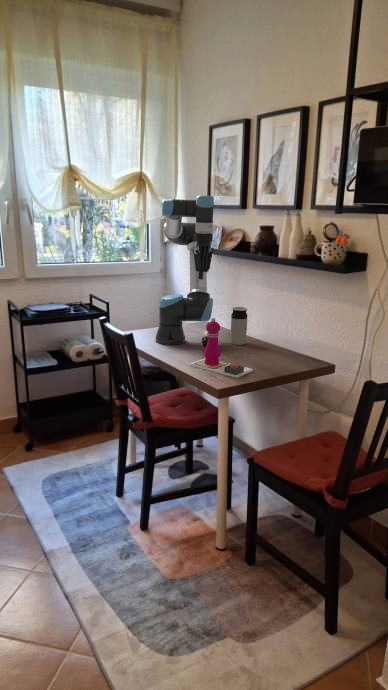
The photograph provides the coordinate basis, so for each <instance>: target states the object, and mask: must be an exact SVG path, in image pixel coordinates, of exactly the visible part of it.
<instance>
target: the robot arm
mask: <svg viewBox="0 0 388 690" xmlns="http://www.w3.org/2000/svg"><path fill="white" fill-rule="evenodd" d="M161 206H162V207H161V215H162V217H165V224H164V225H163V233H164V236H165V238H166V239H167V240H168V241H170V242H171V243H172V244H174V245H175V244H176V245H178V246H186V249H187V251H189V292H188V293H187V294H186V297H184V296H183V294H176V293H174V294H169V295H164V296H161V298H160V299H159V305H158V308H159V309H158V310H159V312H158V313H159V314H158V315H159V316H158V321H159V323H158V325H159V326H158V329H157V332H156V335H155V342H156V343H158V344H162V345H171V346H172V345H173V346H175V345H176V346H177V345H181V344H184V343H185V342H186V335H185V331H184V328H183V322H200V323H202V322H210V321H211V319H212V312H213V305H214V299H213V298H212V297H211V295H210V293H209V292H208V283H207V282H208V279H207V274H208V273H209V271H210V269H211V263H212V258H213V253H214V251H215V248H213V247H211V246H212V243H213V235H214V234H213V233H212V232H214V230H213V227H214V225H213V224H214V211H215V210H214V209H215V207H214V206H215V198H214V196H212V195H197V196H196V199H178V198H177V199H176V198H175V199H174V198H166V199H165V198H164V199H163V200H162V203H161ZM183 218H195V222H182V221H183Z"/></svg>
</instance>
